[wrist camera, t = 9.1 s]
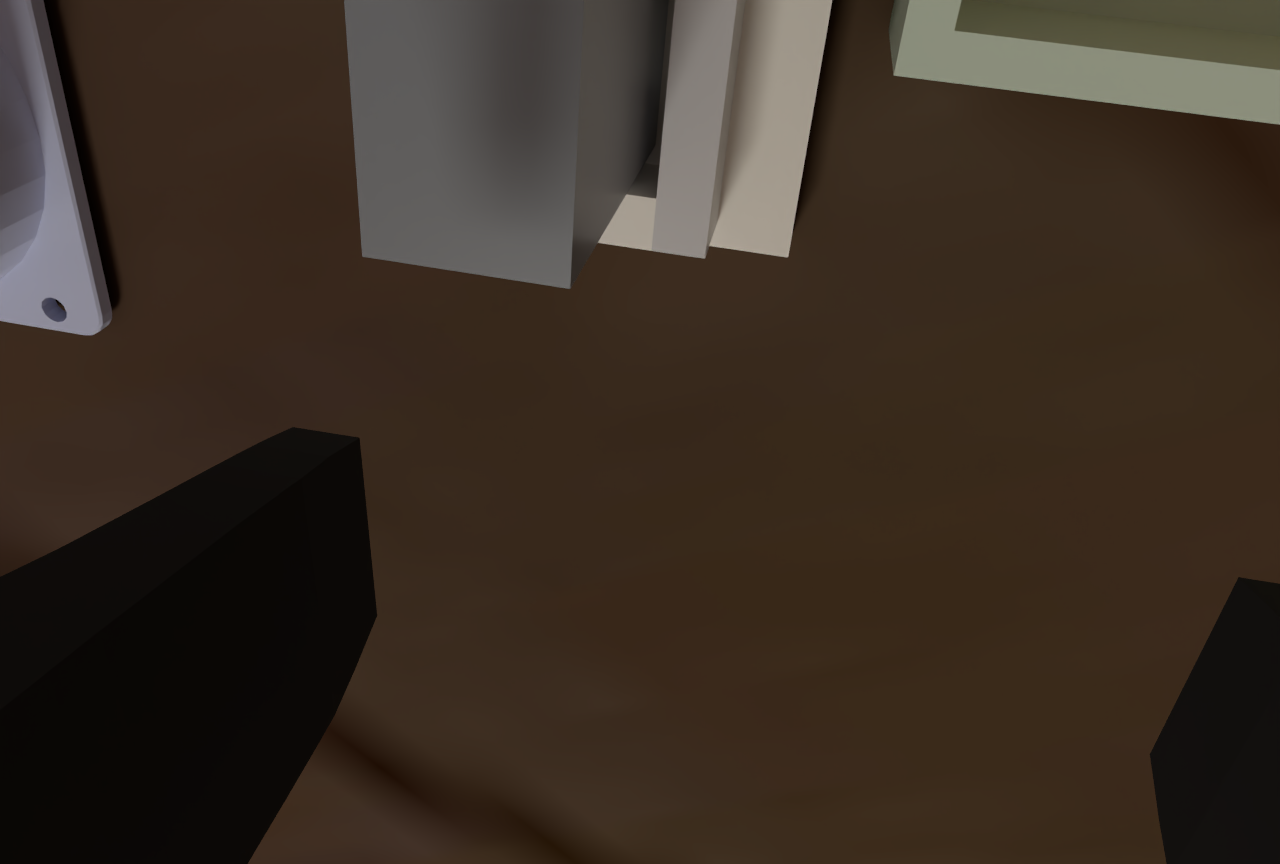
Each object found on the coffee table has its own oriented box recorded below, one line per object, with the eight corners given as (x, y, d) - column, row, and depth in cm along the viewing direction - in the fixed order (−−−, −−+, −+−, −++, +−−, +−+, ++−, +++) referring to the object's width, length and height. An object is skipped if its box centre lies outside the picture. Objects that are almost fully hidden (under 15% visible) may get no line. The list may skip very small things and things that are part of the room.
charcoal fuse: (505, 124, 16) (362, 256, 11) (508, -170, 14) (333, -153, 9) (655, 145, 16) (570, 288, 11) (682, -152, 14) (590, -124, 9)
